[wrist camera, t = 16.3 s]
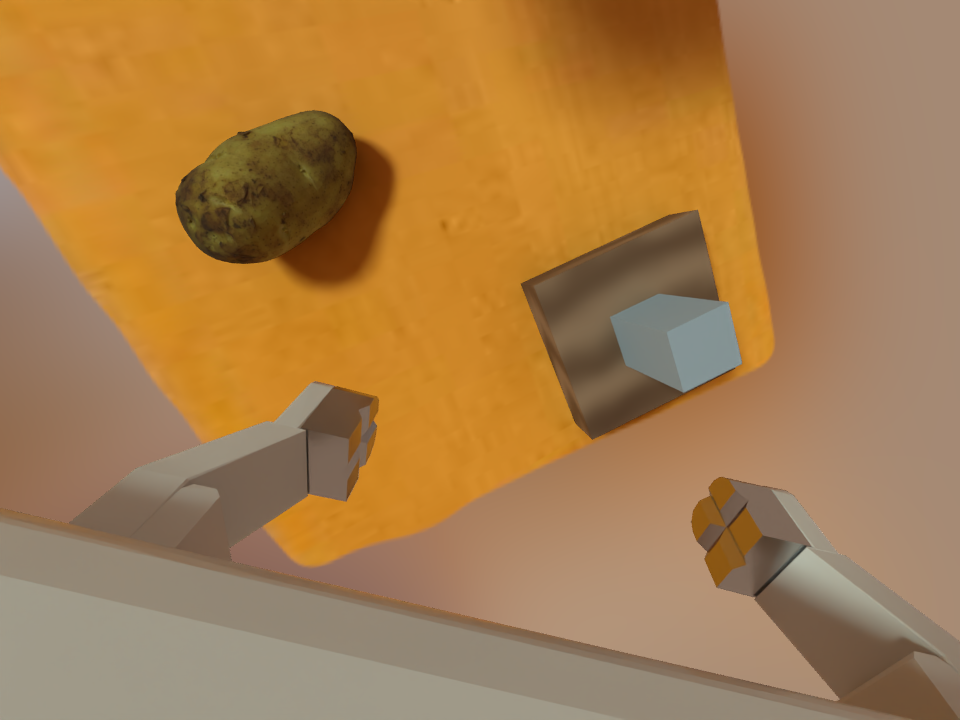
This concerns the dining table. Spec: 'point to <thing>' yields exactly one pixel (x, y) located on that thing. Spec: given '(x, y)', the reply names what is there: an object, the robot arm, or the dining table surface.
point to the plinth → (603, 293)
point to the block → (678, 339)
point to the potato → (268, 188)
